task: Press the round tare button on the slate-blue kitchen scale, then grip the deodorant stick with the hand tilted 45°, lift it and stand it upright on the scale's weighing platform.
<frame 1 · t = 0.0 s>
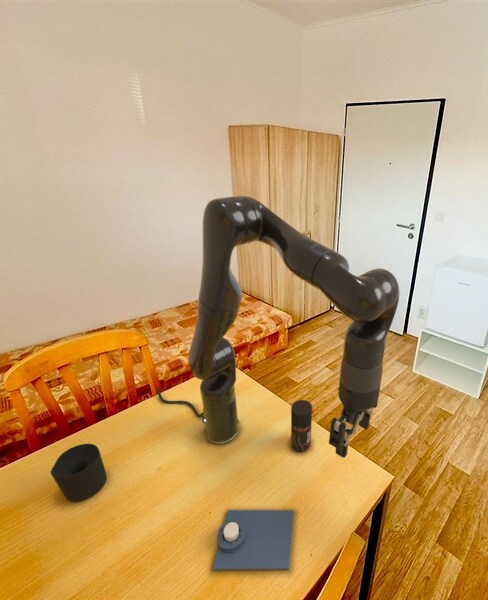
hand: (352, 439, 64), 29 cm above the table, tool pointing down, fingers open, 8 cm apart
scale: (256, 539, 73), on the table
deodorant: (300, 444, 97), on the table
tare button: (231, 531, 71), point 3 cm above the table, slide at 0.1 cm
pen holder: (87, 486, 82), on the table
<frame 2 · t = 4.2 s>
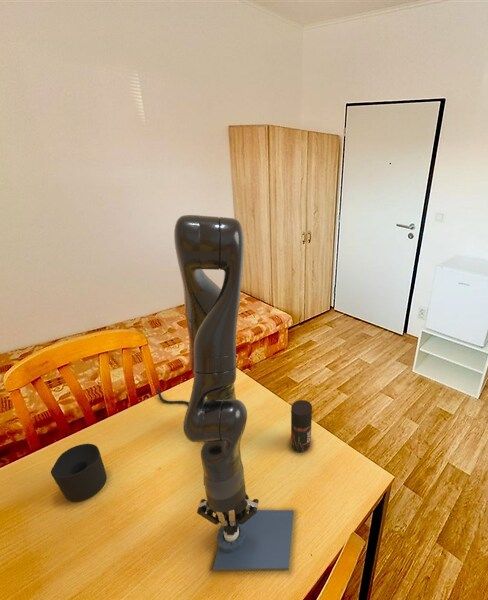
hand: (231, 530, 71), 4 cm above the table, tool pointing down, fingers closed
tare button: (231, 532, 71), point 3 cm above the table, slide at -0.1 cm, touching gripper
everything else where it was.
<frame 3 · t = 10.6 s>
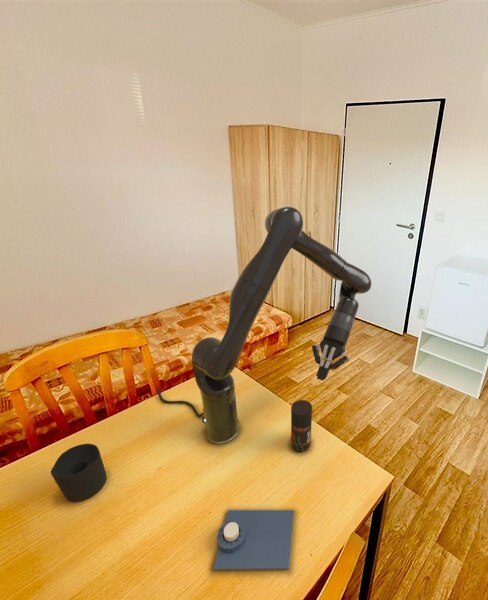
hand: (320, 379, 98), 18 cm above the table, tool tilted 45°, fingers closed
tare button: (231, 531, 71), point 3 cm above the table, slide at 0.1 cm
everything else where it was.
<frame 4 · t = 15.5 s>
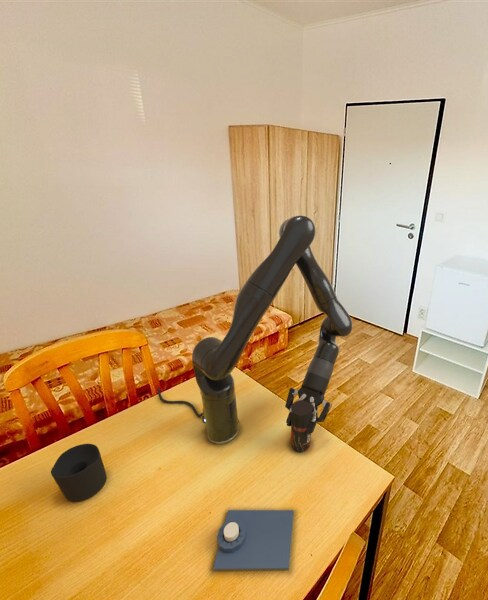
hand: (298, 429, 92), 8 cm above the table, tool tilted 45°, fingers closed on deodorant, 6 cm apart
deodorant: (300, 444, 97), on the table, touching gripper
everything else where it was.
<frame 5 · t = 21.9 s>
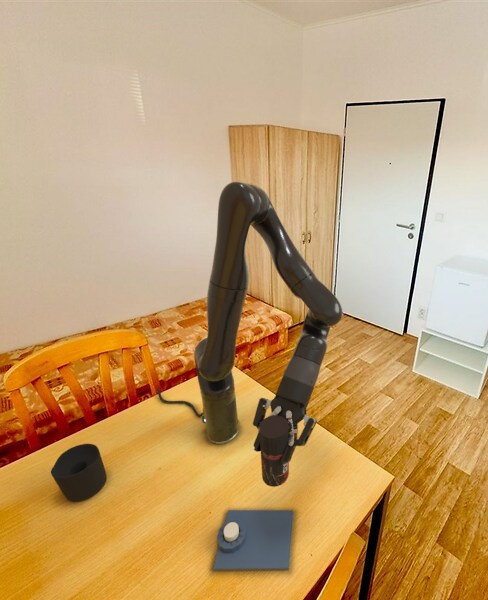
hand: (270, 456, 67), 23 cm above the table, tool tilted 45°, fingers closed on deodorant, 6 cm apart
deodorant: (275, 474, 71), point 15 cm above the table, touching gripper
everything else where it was.
when the fingers open (9 cm above the table, at t = 28.7 s): deodorant stays where it is, resting on scale.
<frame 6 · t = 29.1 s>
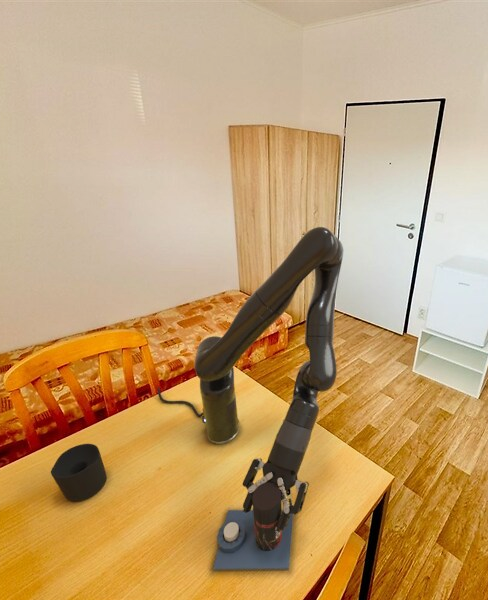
hand: (262, 520, 68), 9 cm above the table, tool tilted 45°, fingers open, 8 cm apart
deodorant: (268, 536, 73), point 1 cm above the table, touching scale
everything else where it was.
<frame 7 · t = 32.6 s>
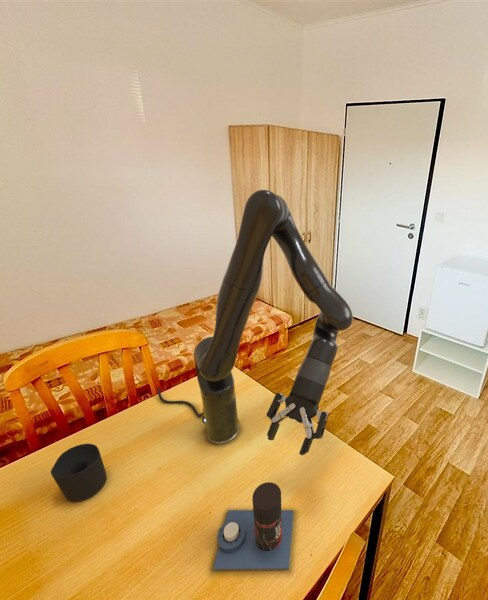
hand: (285, 447, 73), 20 cm above the table, tool tilted 45°, fingers open, 8 cm apart
nothing on the table moved.
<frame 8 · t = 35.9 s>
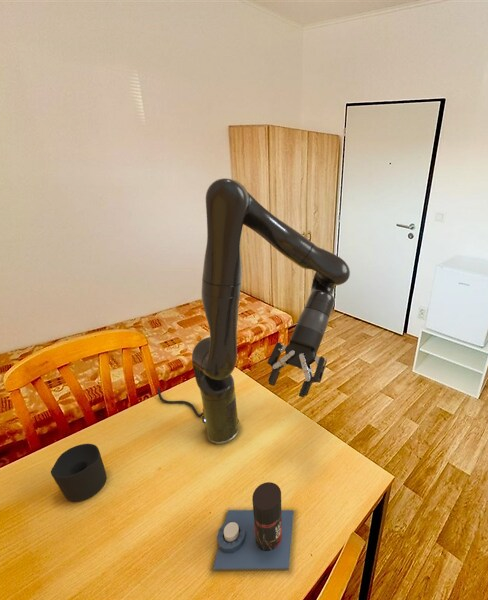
hand: (285, 390, 77), 29 cm above the table, tool tilted 45°, fingers open, 8 cm apart
nothing on the table moved.
at the end: tare button pushed in 0.9 cm at the most during the clip, back to where it started at the end; deodorant inside the target area on the scale (0.7 cm from its centre), point 0.7 cm above the scale's base; deodorant tilted 0° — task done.
